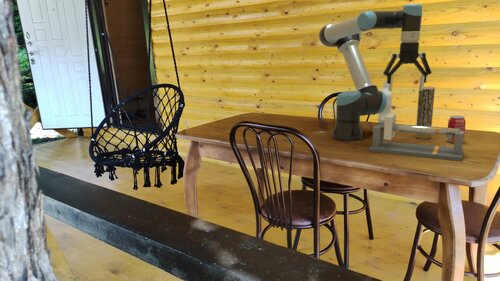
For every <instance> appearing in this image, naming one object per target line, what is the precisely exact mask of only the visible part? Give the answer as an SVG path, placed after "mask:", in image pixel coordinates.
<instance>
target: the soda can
mask: <svg viewBox="0 0 500 281" xmlns="http://www.w3.org/2000/svg"><path fill="white" fill-rule="evenodd" d="M447 128H457V129H460V131H464V134H466V133H465V132H466V131H465V130H466V119H465V116H463V115H451V116H450V118H449V119H448V123H447ZM464 139H465V137H464V138H463V141H464ZM454 140H455V136H452V135H446V141H448V143H451V144H452V143H453V144H454Z"/></svg>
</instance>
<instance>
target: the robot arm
mask: <svg viewBox="0 0 500 281" xmlns="http://www.w3.org/2000/svg"><path fill="white" fill-rule="evenodd" d="M422 17H423V5H422V4H421V3H409V4H405V5H403V9H402V10H379V11H378V10H373V11H372V10H367V11H362V12H360V13H359V15H357V16H355V17H352V18H349V19H347V20H344V21H342V22H338V23H329V24H326V25H324V26H323V27H322V28H321V29H320V30H319V34H318V37H319V41H320V43H321V44H322V45H324V46H326V47H329V48H331V47H333V48H335V47H336V48H337V50H338V52H339V53H340V54H342V55H343V57H344V60H345V63H346V65H347V69H348V71H349V74H350V76H351V80H352V82H353V85H354V87H355V90H346V91H343V92H340V93H339V94H337V97H336V102H335V104H336V106H335V107H336V109H335V110H336V111H335V112H336V116H335V117H336V119H335V125H334V128H333V130H332V138H333V139H335V140H339V141H346V142H347V141H348V142H349V141H359V140H362V139H364V138H363V137H364V132H363V129H362V127H361V123H360V122H361V117H362V116H363V117H364V116H371V115H377V114H378V115H379V113H381V112H383V111H384V109H385V107H386V104H387V97H386V95H385V93H384V92H382V91H381V90H379V89H378V86H377V84H374V83H373V81H372V80H371V76H370V75H369V72H368V69H367V67H366V64H365V61H364V59H363V57H362V54H361V51H360V49H359V45H360V42H361V35H362V34H361V33H364V32H367V31H371V30H383V29H384V30H387V29H388V30H394V29H401V31H400V32H401V33H400V34H401V35H400V43H399V45H400V46H399V53H392V54H391V58H390V60H389V62H388V64H387V65H386V67H385V69H384V71H383V73H382V74H383V75H384V76H386V81H387V83H388V84H389V89H388V91H391V92H393V85H394V84H393V82H394V76H393V75H394V74H395V73H396V71H398V69H399V68H400V67H401V66H402V65H408V64H410V65H412V64H413V65H414V66H415V67H416V69H418V71H419V72H420V74H421V75H420V77H419V85H418V91H419V90H421V91H423V87H425V86H424V84H426V83H427V77H428V75H431V74H432V70H431V67H430V65H429V63H428V60H427V54H426V53H425V52H421V53H419V48H420V43H419V41H420V38H421V36H420V35H421V26H422ZM418 58H420V60H421V63H422V65H423V66H422V65H421V63H420V62H419V61H418ZM397 59H399V60H398V61H397V62H396V60H397ZM395 62H396V64H395ZM393 65H394V66H393Z"/></svg>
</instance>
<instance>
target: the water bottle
mask: <svg viewBox="0 0 500 281" xmlns="http://www.w3.org/2000/svg"><path fill="white" fill-rule="evenodd" d="M382 86H383V87H382V89H381V90H380V91H382V92H384V93H385V95H386V97H387V104H386V107H385V109H384V111H383V112H381V113H379V114H378V117H377V118H378V119H377V121H378V123H383V124H384V123H385V116H386V115H388V114H389V113H391V111H392V106H393V105H392V103H393V102H392V101H393V91H388V89H389V84H388V83H387V80H383V85H382Z"/></svg>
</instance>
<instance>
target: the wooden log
mask: <svg viewBox="0 0 500 281" xmlns="http://www.w3.org/2000/svg"><path fill="white" fill-rule="evenodd" d="M435 90H436V88H435V86H424V87H423V91H421V90H419V89H418V97H417V98H418V99H417V111H416V113H417V114H416V123H415V124H416V125H415V126H427V127H433V125H432V124H433V116H434V115H433V113H434V102H435V101H434V100H435ZM431 136H432V134H426V133H415V138H416V139H420V140H421V139H422V140H427V139H430V138H431Z"/></svg>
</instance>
